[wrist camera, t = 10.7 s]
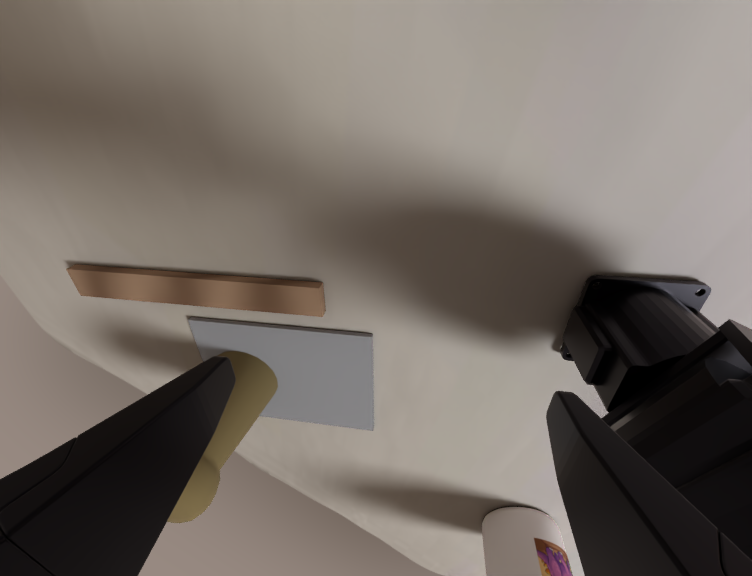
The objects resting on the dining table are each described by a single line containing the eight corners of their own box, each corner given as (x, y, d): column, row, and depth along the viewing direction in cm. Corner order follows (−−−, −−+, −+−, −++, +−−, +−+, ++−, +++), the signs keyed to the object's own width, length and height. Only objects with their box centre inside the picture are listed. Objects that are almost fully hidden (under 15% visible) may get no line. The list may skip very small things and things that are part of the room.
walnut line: (322, 282, 24) (319, 288, 23) (325, 310, 25) (322, 316, 24) (75, 264, 26) (66, 268, 25) (89, 290, 27) (80, 295, 27)
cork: (237, 404, 32) (154, 537, 22) (198, 358, 29) (87, 486, 20) (290, 395, 30) (224, 536, 20) (254, 344, 27) (159, 479, 18)
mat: (372, 333, 25) (371, 337, 25) (373, 427, 31) (373, 430, 31) (190, 317, 27) (187, 319, 27) (223, 407, 33) (221, 410, 33)
